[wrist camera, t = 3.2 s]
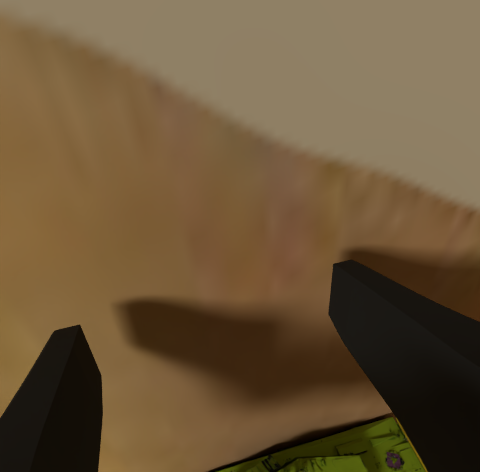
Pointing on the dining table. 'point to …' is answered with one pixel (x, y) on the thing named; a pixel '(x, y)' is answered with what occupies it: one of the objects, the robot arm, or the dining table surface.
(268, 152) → the dining table surface
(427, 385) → the robot arm
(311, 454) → the toy tank
